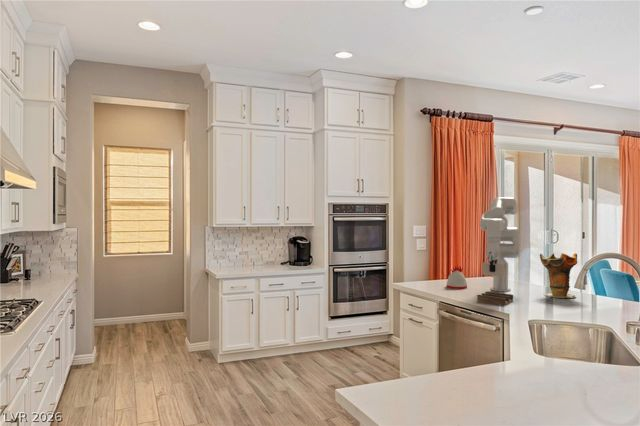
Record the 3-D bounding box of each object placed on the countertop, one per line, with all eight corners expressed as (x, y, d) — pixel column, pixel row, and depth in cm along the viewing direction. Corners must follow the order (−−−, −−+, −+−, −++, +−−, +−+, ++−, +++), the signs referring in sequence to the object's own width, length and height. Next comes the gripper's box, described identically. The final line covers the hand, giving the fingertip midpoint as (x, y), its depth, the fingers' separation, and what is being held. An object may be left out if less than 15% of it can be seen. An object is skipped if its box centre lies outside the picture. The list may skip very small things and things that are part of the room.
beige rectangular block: (483, 274, 269) (484, 262, 269) (504, 276, 262) (504, 264, 262) (482, 274, 267) (482, 262, 267) (503, 276, 259) (503, 264, 259)
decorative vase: (549, 291, 300) (550, 249, 300) (585, 297, 281) (586, 252, 281) (531, 294, 289) (532, 251, 289) (567, 300, 270) (568, 254, 269)
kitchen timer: (469, 289, 309) (469, 267, 309) (449, 289, 309) (449, 267, 309) (463, 285, 323) (463, 264, 322) (444, 285, 323) (444, 264, 323)
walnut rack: (486, 298, 278) (486, 291, 278) (513, 301, 268) (513, 294, 268) (477, 301, 266) (477, 295, 266) (505, 305, 256) (505, 298, 256)
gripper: (491, 239, 273) (491, 269, 273) (482, 240, 260) (482, 272, 260) (504, 239, 268) (504, 270, 268) (495, 241, 255) (495, 273, 256)
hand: (493, 271), depth 264 cm, fingers closed on beige rectangular block, 2 cm apart
